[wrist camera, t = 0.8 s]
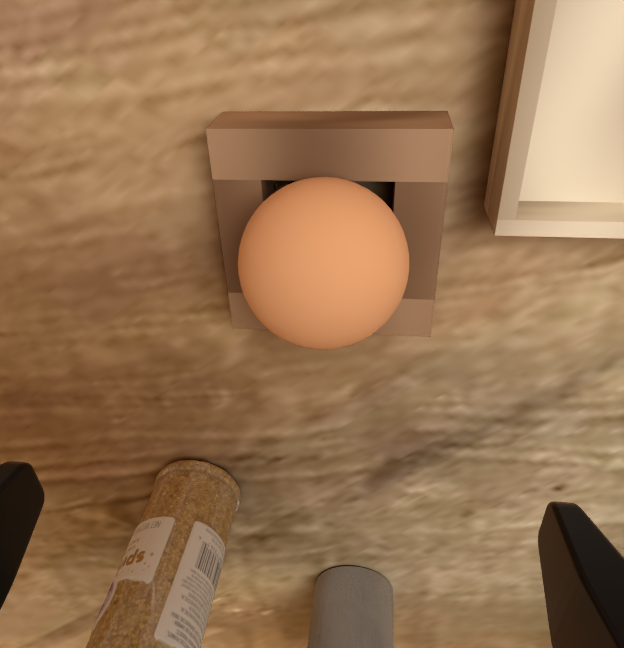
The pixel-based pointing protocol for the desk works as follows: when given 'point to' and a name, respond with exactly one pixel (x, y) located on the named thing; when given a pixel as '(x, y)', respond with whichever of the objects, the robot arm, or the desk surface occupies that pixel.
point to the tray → (560, 123)
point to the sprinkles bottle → (171, 562)
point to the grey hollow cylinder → (351, 610)
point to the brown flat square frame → (345, 163)
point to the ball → (323, 263)
